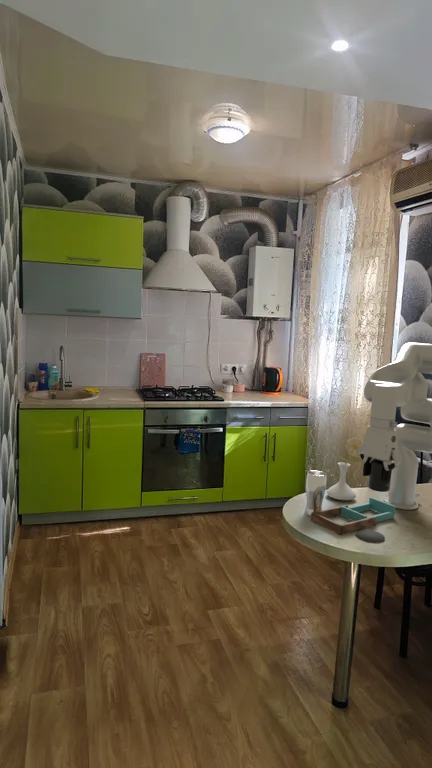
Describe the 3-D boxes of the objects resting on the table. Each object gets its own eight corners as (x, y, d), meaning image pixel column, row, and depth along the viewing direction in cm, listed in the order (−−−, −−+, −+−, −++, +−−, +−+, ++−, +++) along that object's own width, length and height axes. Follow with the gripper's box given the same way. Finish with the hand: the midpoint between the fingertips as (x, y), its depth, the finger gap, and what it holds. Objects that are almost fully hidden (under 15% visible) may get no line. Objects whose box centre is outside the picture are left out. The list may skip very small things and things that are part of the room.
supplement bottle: (363, 486, 168) (366, 450, 166) (377, 484, 171) (380, 448, 170) (380, 493, 162) (384, 456, 161) (394, 490, 166) (398, 454, 164)
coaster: (367, 529, 174) (367, 527, 173) (390, 539, 166) (390, 537, 166) (349, 534, 168) (349, 532, 168) (372, 544, 161) (372, 542, 161)
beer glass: (323, 518, 181) (327, 476, 179) (303, 516, 182) (307, 474, 180) (322, 511, 187) (326, 471, 186) (303, 509, 189) (307, 469, 187)
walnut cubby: (345, 512, 188) (346, 504, 188) (375, 525, 177) (376, 517, 177) (310, 521, 177) (311, 512, 177) (340, 535, 167) (341, 526, 167)
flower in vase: (325, 500, 200) (331, 437, 197) (326, 491, 211) (332, 431, 208) (360, 505, 197) (367, 441, 194) (359, 496, 208) (365, 435, 205)
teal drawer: (369, 507, 194) (371, 497, 194) (394, 517, 186) (395, 506, 185) (340, 515, 184) (341, 503, 184) (364, 525, 176) (365, 513, 175)
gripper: (413, 428, 158) (407, 485, 160) (367, 417, 172) (361, 470, 174) (398, 430, 154) (392, 488, 156) (352, 419, 168) (346, 472, 170)
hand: (376, 478), depth 165 cm, fingers closed on supplement bottle, 6 cm apart
